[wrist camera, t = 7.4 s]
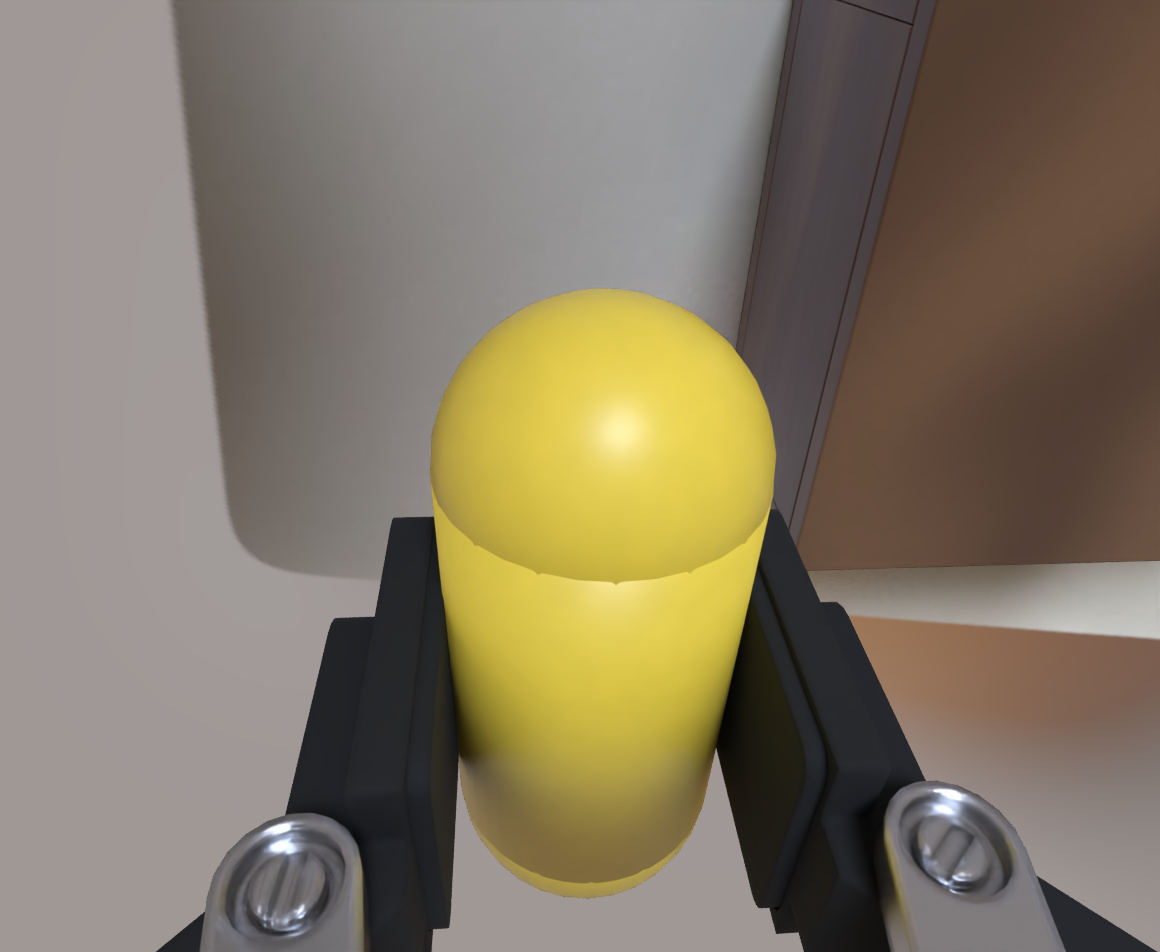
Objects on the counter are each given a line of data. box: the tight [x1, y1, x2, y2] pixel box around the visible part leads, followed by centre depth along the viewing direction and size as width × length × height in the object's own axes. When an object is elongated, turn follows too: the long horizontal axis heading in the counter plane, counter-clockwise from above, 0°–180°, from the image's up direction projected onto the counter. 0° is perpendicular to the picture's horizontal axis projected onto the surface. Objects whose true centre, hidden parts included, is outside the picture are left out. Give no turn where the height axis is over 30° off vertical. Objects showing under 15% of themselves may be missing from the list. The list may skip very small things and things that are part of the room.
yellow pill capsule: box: [430, 288, 776, 898], centre depth 10 cm, size 9×4×4 cm
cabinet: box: [736, 0, 1160, 571], centre depth 23 cm, size 17×15×9 cm
